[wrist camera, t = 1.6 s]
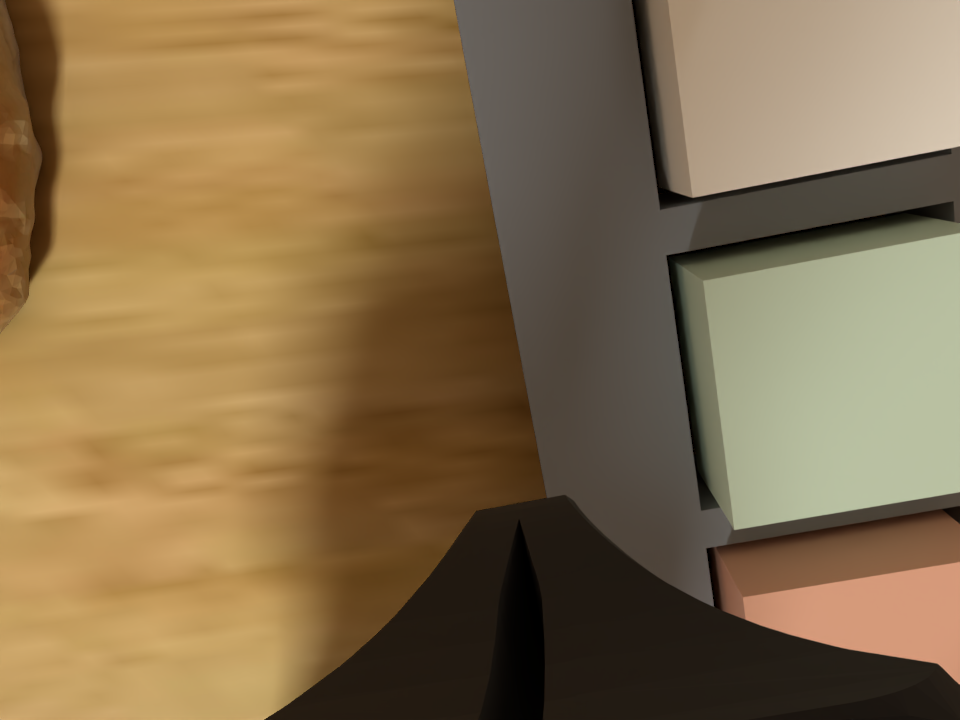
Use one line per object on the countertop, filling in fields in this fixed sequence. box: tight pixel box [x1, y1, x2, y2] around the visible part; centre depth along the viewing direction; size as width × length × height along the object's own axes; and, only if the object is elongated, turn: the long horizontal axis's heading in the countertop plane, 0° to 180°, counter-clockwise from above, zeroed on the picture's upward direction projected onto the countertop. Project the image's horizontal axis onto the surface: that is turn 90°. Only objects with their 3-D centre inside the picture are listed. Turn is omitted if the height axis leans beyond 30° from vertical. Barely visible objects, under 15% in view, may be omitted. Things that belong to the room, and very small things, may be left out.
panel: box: [454, 0, 960, 607], centre depth 19 cm, size 21×12×3 cm, turn 11°
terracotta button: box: [708, 509, 960, 684], centre depth 19 cm, size 5×5×3 cm
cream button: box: [634, 0, 960, 198], centre depth 15 cm, size 5×5×3 cm
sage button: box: [669, 213, 960, 530], centre depth 17 cm, size 5×5×3 cm
